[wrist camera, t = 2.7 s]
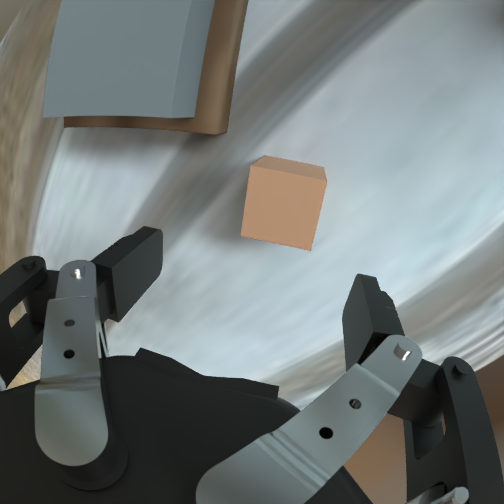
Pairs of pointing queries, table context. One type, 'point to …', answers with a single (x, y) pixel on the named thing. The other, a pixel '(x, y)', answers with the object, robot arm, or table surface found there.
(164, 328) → the table surface
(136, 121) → the walnut slab
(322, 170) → the terracotta block
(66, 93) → the slate top slab
